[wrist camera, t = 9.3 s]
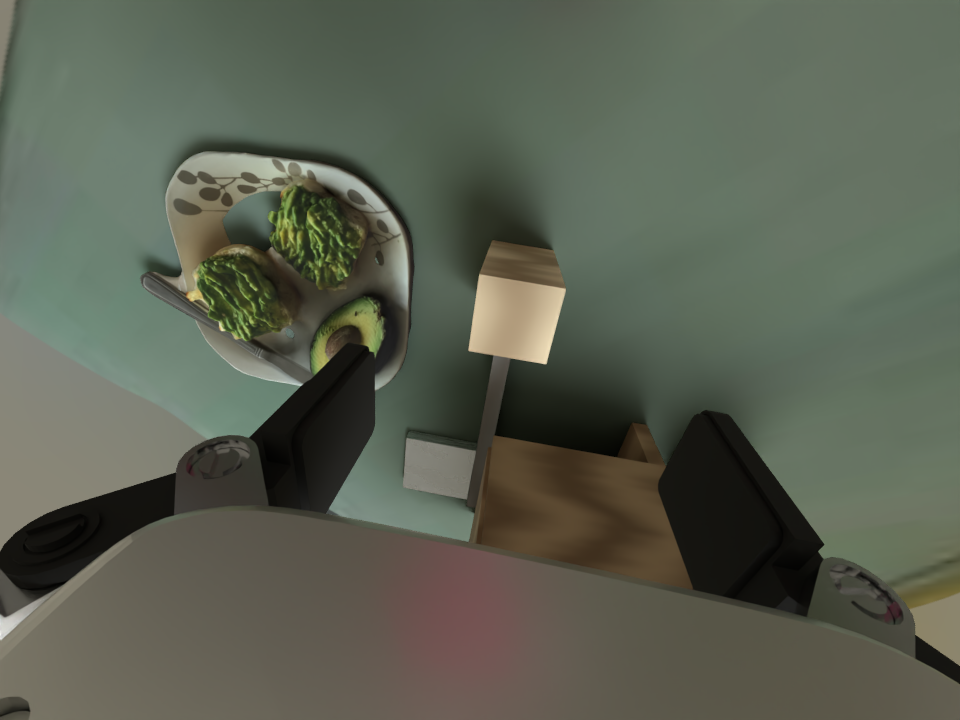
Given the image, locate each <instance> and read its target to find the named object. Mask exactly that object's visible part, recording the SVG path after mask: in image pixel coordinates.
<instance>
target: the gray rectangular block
mask: <svg viewBox="0 0 960 720" xmlns="http://www.w3.org/2000/svg"><path fill="white" fill-rule="evenodd" d="M476 448H477V443H474V442H469V441H463V440H458V439H453V438H447V437H442V436H437V435H431V434H426V433H421V432H415V431H409V433H408V435H407V438H406V451H405V466H404V481H403V487H404V488H409V489H415V490H420V491H425V492H430V493H435V494H441V495H446V496H451V497H456V498H461V499H466V500H467V496H468V491H469V485H470V480H471V475H472V470H473V464H474V459H475V454H476Z"/></svg>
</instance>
